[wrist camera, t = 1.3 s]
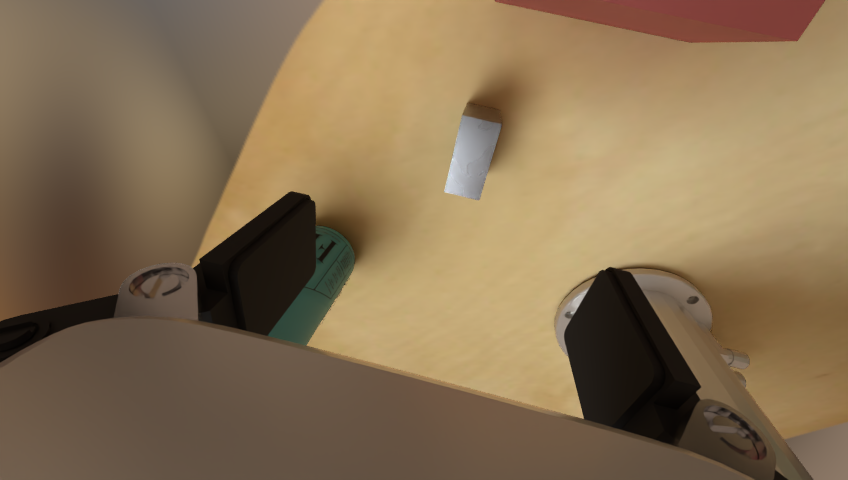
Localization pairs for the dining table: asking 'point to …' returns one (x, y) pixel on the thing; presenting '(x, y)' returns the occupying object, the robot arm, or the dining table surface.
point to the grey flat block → (473, 150)
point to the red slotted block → (691, 17)
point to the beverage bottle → (317, 288)
